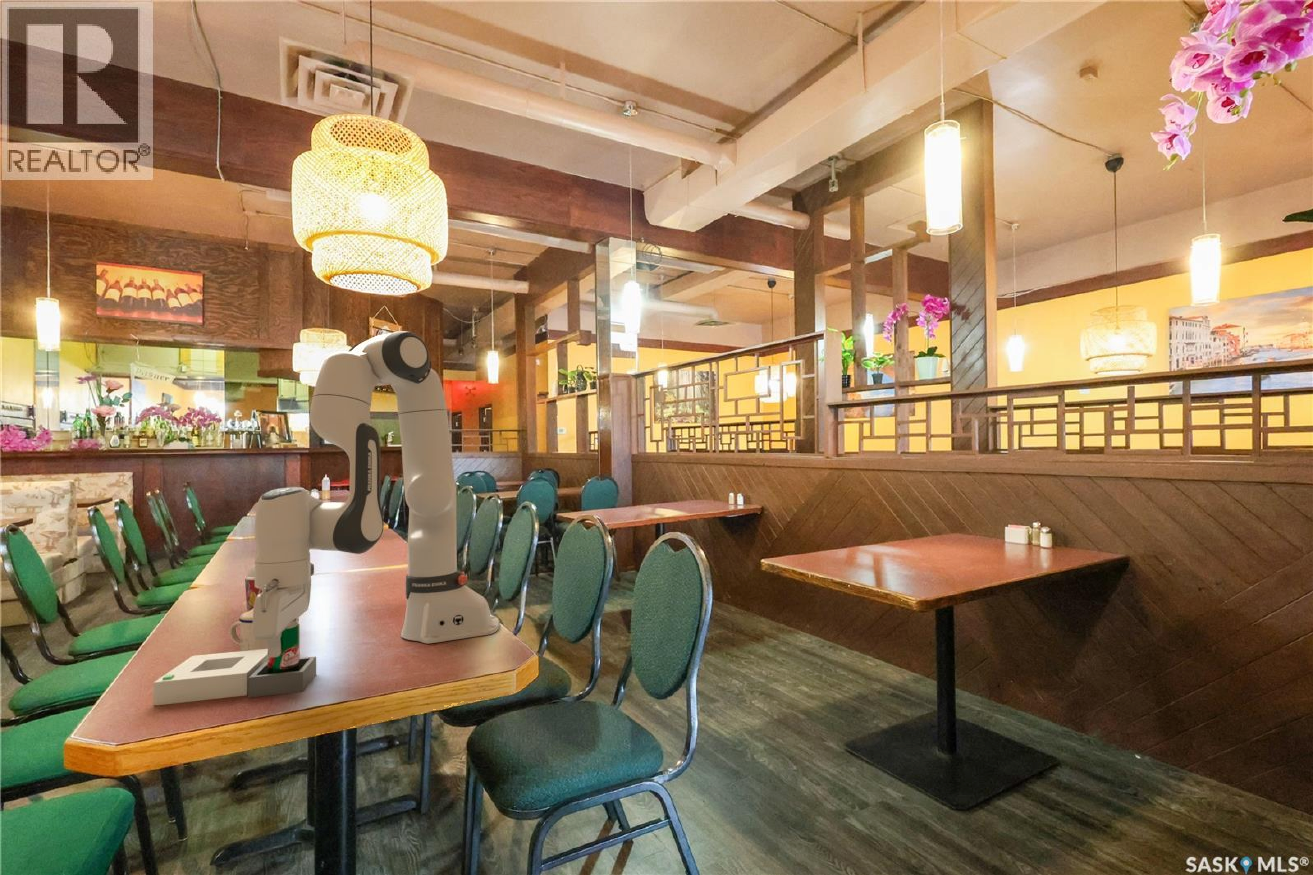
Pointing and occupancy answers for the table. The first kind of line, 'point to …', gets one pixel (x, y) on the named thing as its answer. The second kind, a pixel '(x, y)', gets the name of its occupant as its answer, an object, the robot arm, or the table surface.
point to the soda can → (287, 651)
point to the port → (209, 677)
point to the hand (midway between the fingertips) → (282, 649)
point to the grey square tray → (282, 679)
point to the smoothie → (251, 588)
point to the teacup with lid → (247, 634)
